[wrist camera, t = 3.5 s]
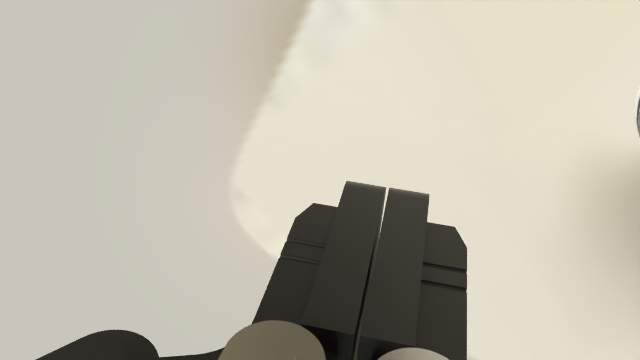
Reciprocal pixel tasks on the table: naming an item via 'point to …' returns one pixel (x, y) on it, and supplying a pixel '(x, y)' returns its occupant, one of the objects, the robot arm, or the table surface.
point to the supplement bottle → (637, 111)
